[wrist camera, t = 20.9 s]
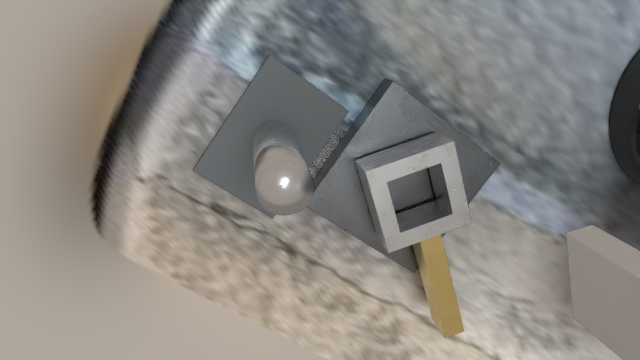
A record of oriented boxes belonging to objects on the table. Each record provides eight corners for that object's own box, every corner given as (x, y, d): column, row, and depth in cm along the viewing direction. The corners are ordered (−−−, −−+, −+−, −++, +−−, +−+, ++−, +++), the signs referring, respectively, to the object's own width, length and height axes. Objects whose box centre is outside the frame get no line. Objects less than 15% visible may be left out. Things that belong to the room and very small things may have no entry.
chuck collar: (354, 160, 35) (365, 172, 32) (436, 131, 35) (454, 140, 32) (403, 326, 40) (416, 349, 37) (474, 299, 40) (492, 320, 38)
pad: (269, 54, 34) (269, 54, 33) (347, 109, 36) (348, 111, 35) (193, 168, 35) (192, 171, 35) (272, 215, 38) (272, 218, 37)
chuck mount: (385, 78, 36) (393, 81, 34) (487, 156, 39) (500, 163, 37) (300, 196, 37) (304, 205, 36) (406, 261, 41) (414, 273, 39)
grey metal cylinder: (267, 112, 34) (278, 148, 24) (301, 136, 35) (325, 181, 25) (243, 145, 35) (244, 195, 25) (277, 168, 36) (291, 225, 25)
